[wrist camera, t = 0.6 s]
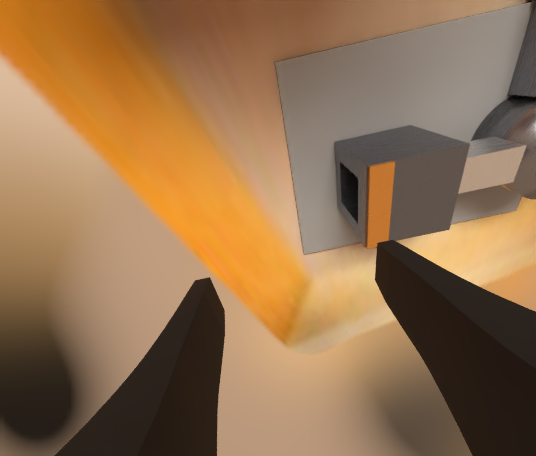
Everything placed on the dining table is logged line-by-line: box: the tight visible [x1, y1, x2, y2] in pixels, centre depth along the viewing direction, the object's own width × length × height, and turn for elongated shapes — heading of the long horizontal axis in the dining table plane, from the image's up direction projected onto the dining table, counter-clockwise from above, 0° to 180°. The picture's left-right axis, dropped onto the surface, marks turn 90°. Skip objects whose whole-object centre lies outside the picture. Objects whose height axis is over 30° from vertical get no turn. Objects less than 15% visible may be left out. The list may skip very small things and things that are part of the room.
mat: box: [275, 1, 534, 254], centre depth 17 cm, size 18×14×1 cm
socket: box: [334, 125, 470, 249], centre depth 15 cm, size 5×5×5 cm
